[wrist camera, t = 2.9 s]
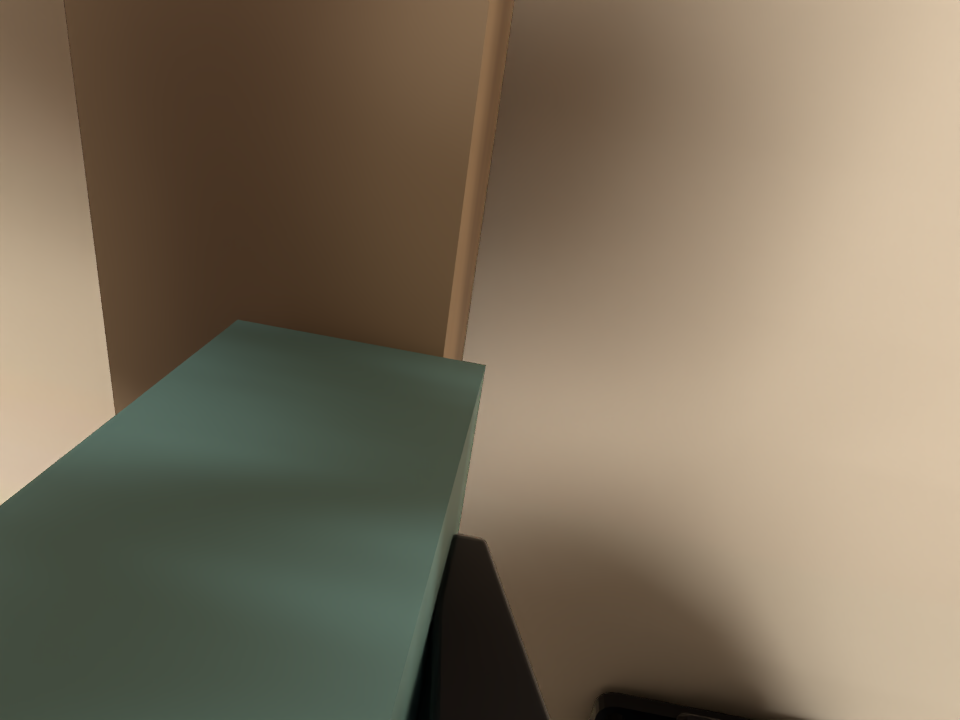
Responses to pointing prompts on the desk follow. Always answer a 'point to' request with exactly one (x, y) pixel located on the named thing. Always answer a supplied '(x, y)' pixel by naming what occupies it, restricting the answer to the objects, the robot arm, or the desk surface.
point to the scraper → (263, 362)
